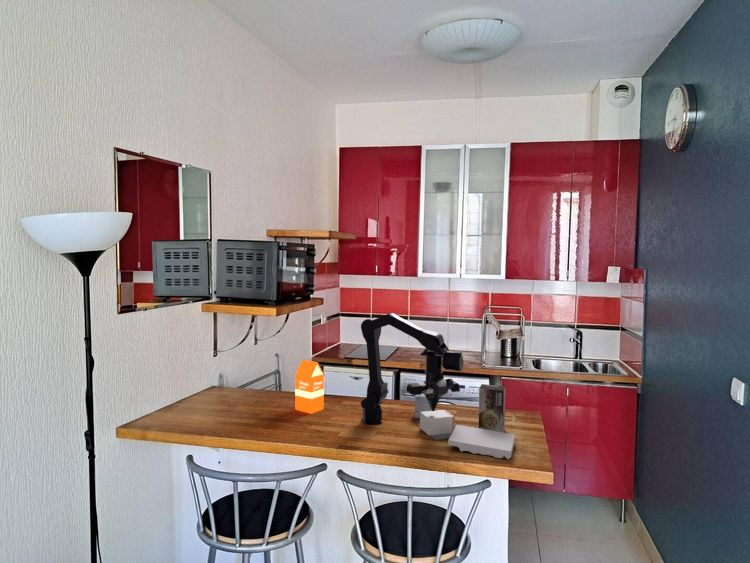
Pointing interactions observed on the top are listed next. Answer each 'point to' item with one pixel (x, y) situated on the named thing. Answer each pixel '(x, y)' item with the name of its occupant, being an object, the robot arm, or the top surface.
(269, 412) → the top surface
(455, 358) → the robot arm
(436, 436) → the mat
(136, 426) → the top surface
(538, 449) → the top surface
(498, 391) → the coffee box
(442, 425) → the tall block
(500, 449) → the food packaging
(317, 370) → the orange juice
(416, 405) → the medicine box
